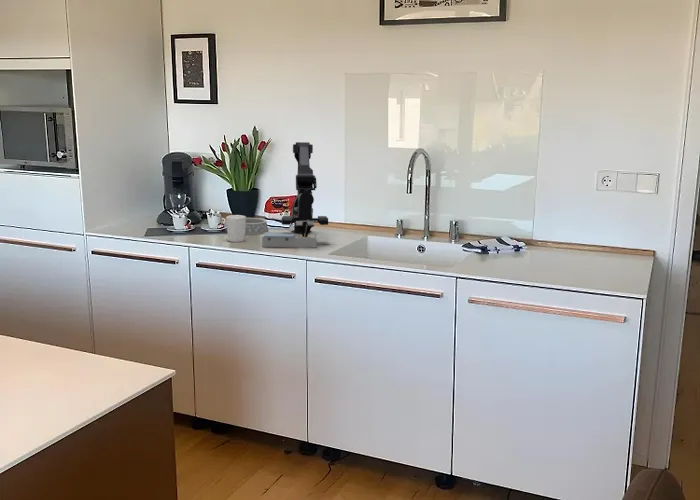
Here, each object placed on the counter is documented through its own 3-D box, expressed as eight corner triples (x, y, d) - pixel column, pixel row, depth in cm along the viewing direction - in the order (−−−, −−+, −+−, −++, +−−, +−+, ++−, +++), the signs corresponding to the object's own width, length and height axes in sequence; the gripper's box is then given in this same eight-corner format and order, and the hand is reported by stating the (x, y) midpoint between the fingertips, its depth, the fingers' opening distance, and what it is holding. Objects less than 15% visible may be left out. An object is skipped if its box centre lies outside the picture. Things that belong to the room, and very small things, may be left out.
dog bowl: (257, 227, 331) (257, 216, 330) (274, 234, 316) (274, 222, 315) (222, 230, 323) (222, 218, 322) (237, 237, 307) (237, 224, 306)
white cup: (247, 239, 303) (247, 215, 301) (243, 242, 295) (243, 218, 293) (229, 238, 303) (229, 214, 301) (224, 241, 296) (224, 217, 294)
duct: (263, 243, 295) (263, 233, 294) (316, 243, 296) (316, 234, 295) (262, 247, 287) (262, 237, 286) (316, 247, 288) (316, 237, 287)
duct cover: (265, 233, 294) (265, 232, 294) (295, 233, 294) (295, 232, 294) (263, 237, 285) (263, 235, 285) (294, 237, 285) (294, 236, 285)
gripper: (326, 200, 301) (325, 237, 304) (281, 200, 299) (281, 237, 302) (328, 204, 290) (328, 242, 293) (282, 204, 288) (282, 242, 291)
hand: (304, 241), depth 295 cm, fingers closed
